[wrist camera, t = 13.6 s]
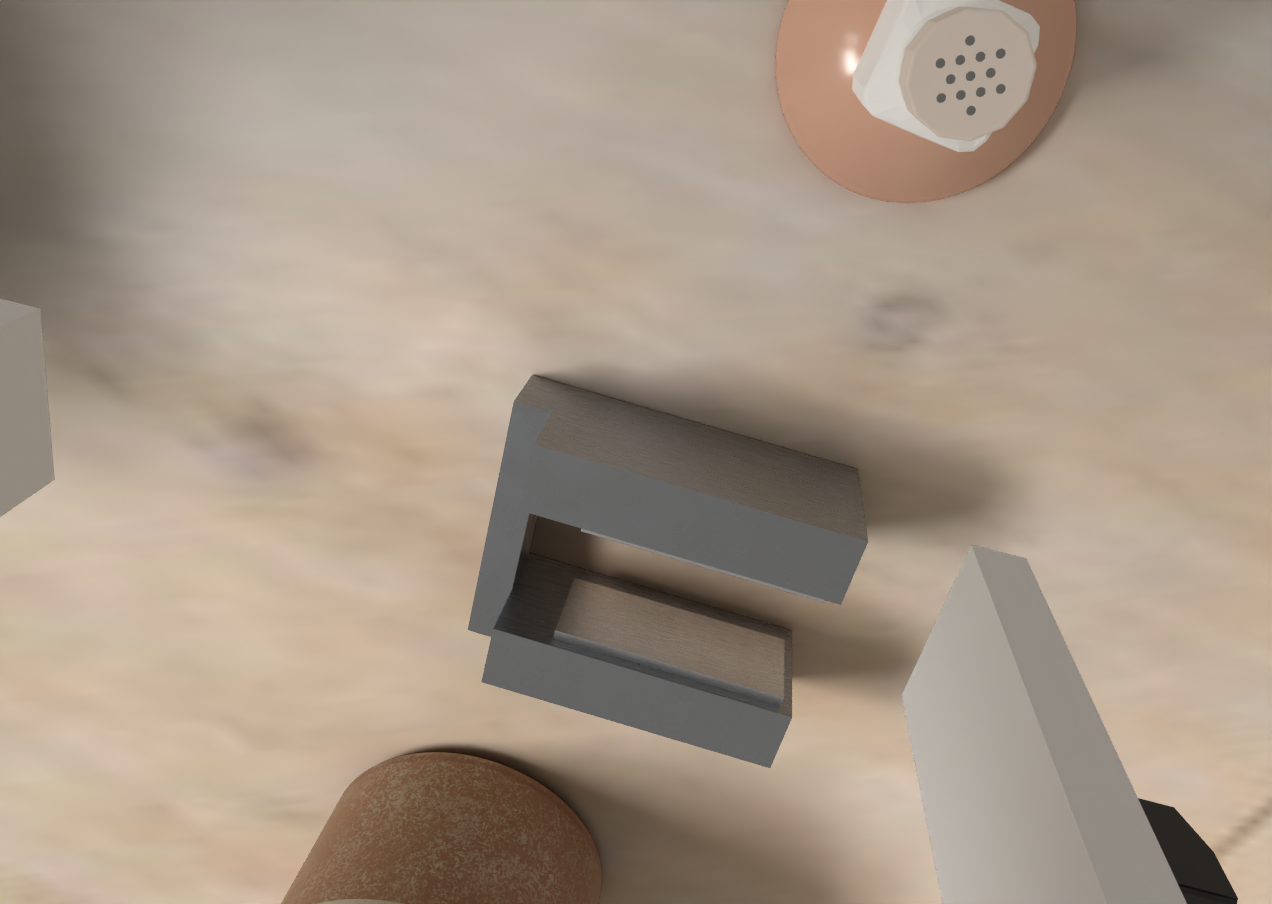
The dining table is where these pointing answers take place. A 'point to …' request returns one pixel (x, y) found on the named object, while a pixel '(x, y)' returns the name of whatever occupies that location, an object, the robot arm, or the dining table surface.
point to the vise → (670, 526)
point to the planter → (449, 839)
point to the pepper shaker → (948, 68)
